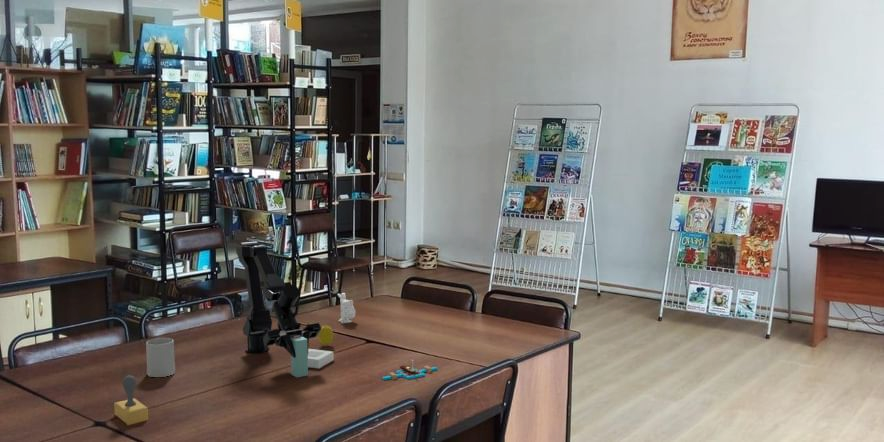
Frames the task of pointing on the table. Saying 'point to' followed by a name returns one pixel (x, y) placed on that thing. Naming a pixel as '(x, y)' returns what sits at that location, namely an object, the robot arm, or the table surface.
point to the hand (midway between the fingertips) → (301, 355)
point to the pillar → (299, 357)
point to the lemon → (325, 335)
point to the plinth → (319, 358)
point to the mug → (160, 357)
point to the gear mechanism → (409, 372)
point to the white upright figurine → (346, 309)
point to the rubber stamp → (130, 404)
